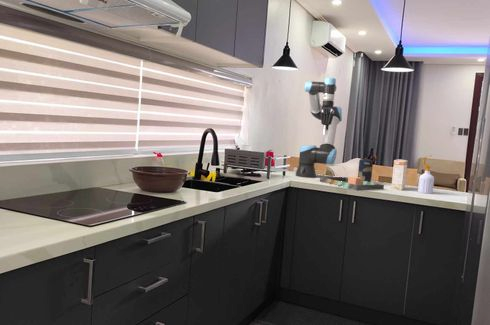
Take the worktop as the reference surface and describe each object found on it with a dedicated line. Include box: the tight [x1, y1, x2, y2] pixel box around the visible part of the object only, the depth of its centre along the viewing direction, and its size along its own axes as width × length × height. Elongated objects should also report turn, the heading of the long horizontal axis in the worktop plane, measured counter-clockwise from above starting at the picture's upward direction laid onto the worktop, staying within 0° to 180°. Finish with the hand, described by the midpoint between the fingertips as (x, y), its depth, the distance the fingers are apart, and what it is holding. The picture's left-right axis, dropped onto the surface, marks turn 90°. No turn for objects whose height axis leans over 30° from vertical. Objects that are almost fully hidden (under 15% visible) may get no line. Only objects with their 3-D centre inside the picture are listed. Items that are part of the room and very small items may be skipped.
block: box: [347, 176, 364, 185], centre depth 286 cm, size 7×7×6 cm
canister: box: [357, 157, 374, 182], centre depth 309 cm, size 10×10×18 cm
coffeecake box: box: [390, 158, 409, 191], centre depth 290 cm, size 15×7×20 cm, turn 152°
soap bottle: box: [417, 155, 435, 195], centre depth 280 cm, size 9×9×25 cm
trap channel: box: [319, 176, 385, 191], centre depth 289 cm, size 34×24×3 cm
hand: (325, 134), depth 300 cm, fingers closed
